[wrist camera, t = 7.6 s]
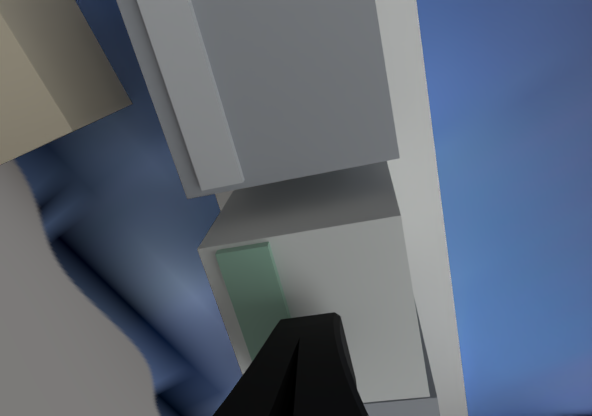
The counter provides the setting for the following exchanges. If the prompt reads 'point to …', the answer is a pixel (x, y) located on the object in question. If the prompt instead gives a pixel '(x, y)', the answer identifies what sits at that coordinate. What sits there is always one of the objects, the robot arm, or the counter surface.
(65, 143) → the counter surface
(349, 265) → the block
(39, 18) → the block
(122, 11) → the din rail
